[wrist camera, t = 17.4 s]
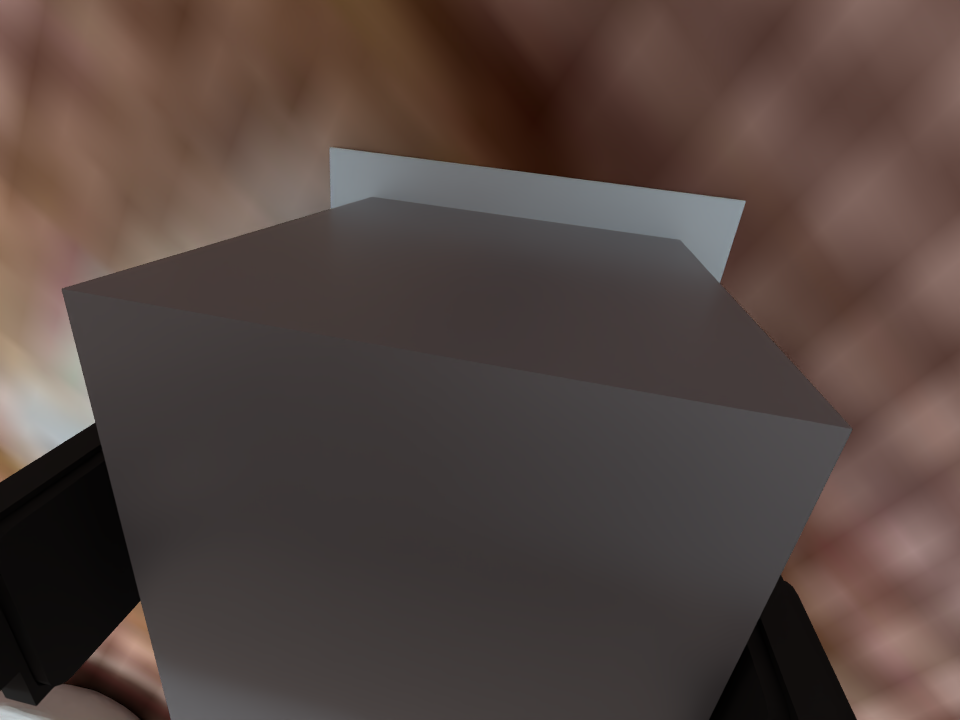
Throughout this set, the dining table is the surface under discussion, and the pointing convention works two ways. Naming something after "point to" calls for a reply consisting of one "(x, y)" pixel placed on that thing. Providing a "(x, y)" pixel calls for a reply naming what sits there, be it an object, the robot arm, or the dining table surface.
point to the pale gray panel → (542, 199)
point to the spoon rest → (66, 706)
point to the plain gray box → (447, 467)
